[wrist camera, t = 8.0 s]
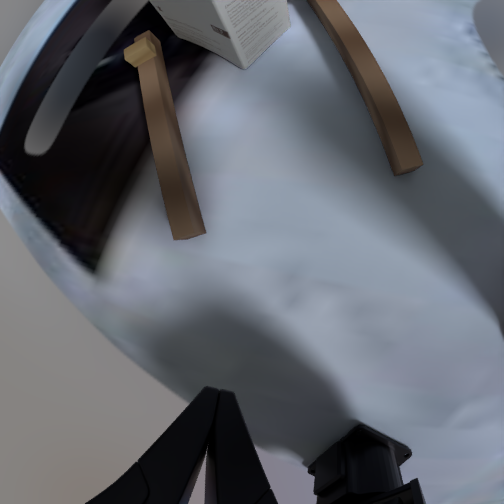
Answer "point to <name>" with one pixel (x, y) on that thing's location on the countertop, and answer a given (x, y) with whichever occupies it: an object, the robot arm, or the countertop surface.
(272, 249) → the countertop surface
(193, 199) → the guide track
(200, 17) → the skincare box
